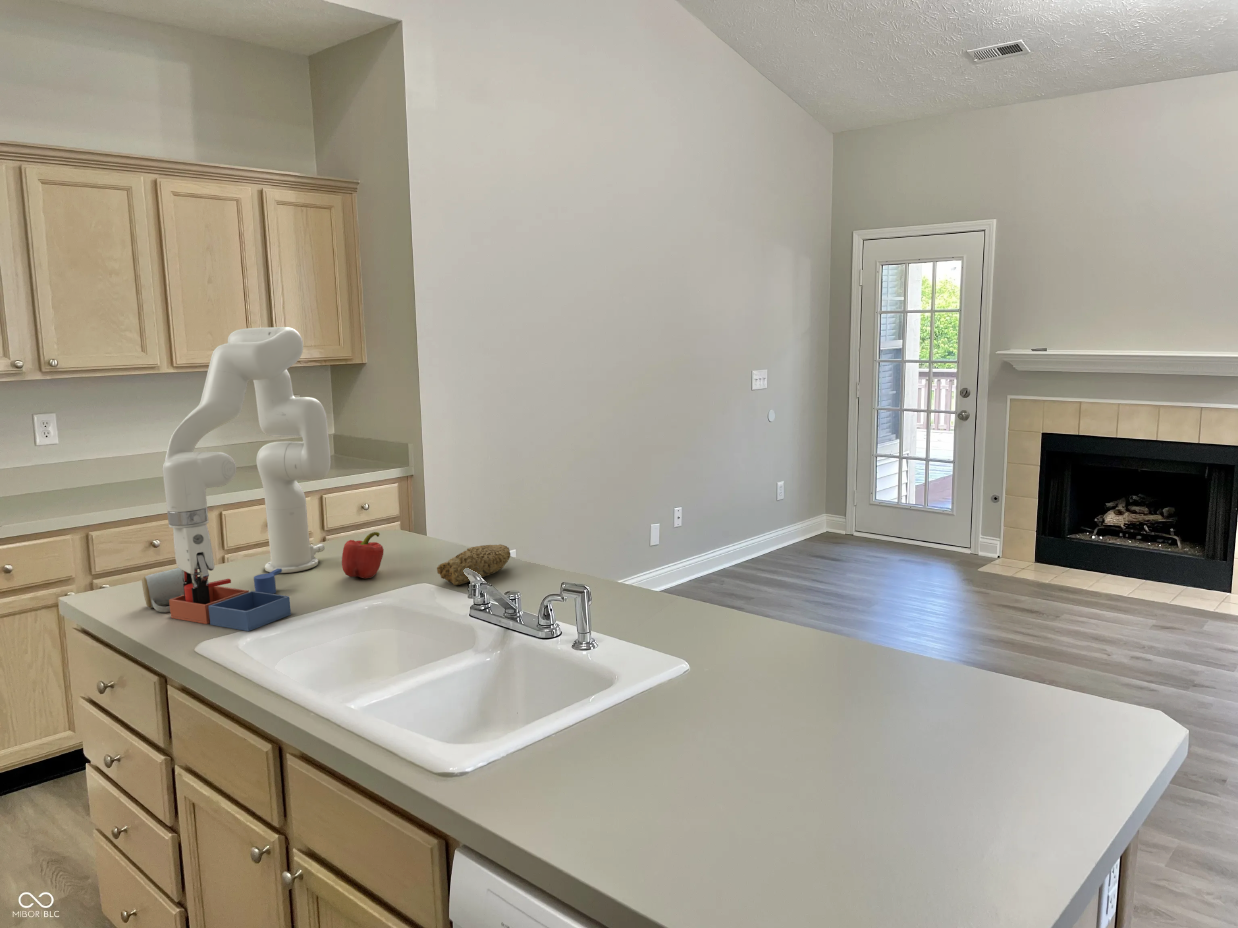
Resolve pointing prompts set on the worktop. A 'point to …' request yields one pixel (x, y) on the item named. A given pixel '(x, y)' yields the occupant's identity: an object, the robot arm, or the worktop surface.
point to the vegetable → (362, 557)
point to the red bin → (201, 611)
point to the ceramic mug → (162, 588)
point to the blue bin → (249, 610)
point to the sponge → (474, 562)
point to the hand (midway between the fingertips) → (197, 601)
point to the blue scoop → (266, 582)
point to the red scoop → (216, 583)
